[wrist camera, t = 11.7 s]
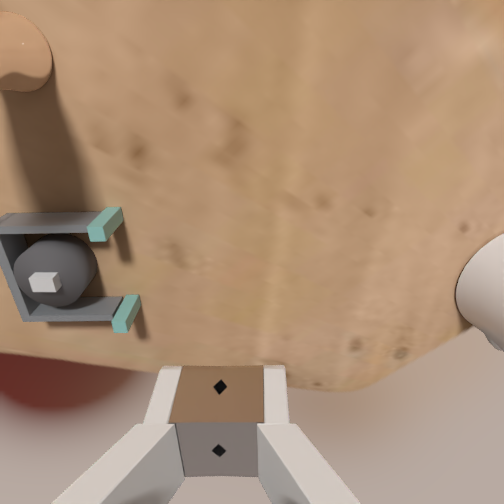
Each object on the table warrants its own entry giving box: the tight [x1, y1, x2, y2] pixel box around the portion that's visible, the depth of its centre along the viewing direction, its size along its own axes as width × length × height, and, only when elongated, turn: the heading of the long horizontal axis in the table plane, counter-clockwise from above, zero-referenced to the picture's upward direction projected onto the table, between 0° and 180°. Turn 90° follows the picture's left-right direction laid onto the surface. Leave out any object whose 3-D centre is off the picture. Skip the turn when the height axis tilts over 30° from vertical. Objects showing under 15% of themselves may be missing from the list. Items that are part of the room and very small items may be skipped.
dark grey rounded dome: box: [14, 233, 97, 307], centre depth 39 cm, size 7×7×5 cm
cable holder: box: [0, 207, 141, 333], centre depth 39 cm, size 12×12×5 cm
